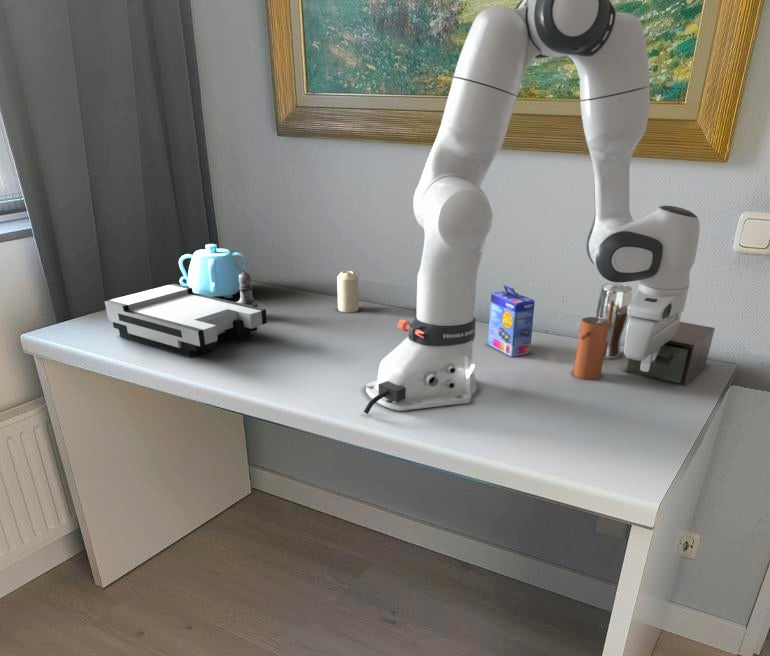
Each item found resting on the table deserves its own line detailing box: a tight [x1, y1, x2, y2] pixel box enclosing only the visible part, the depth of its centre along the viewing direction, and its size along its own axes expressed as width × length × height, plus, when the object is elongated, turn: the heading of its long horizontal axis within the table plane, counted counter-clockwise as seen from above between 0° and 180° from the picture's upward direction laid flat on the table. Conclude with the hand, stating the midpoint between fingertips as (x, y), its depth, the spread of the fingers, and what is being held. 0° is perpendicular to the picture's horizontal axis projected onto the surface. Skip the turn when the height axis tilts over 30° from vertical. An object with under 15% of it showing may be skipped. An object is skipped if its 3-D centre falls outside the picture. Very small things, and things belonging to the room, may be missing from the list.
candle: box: [336, 269, 360, 313], centre depth 189 cm, size 6×6×10 cm
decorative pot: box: [178, 243, 248, 299], centre depth 200 cm, size 16×16×14 cm
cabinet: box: [625, 321, 716, 386], centre depth 152 cm, size 14×12×8 cm
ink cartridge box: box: [487, 284, 536, 358], centre depth 161 cm, size 10×6×14 cm, turn 28°
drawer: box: [625, 343, 690, 384], centre depth 149 cm, size 18×11×7 cm, turn 143°
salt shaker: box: [235, 269, 259, 308], centre depth 182 cm, size 6×6×12 cm
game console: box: [104, 283, 268, 358], centre depth 169 cm, size 21×32×8 cm, turn 54°
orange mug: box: [573, 316, 610, 381], centre depth 146 cm, size 9×6×12 cm, turn 143°
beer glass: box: [595, 283, 634, 360], centre depth 158 cm, size 7×7×15 cm
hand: (646, 369), depth 142 cm, fingers closed
